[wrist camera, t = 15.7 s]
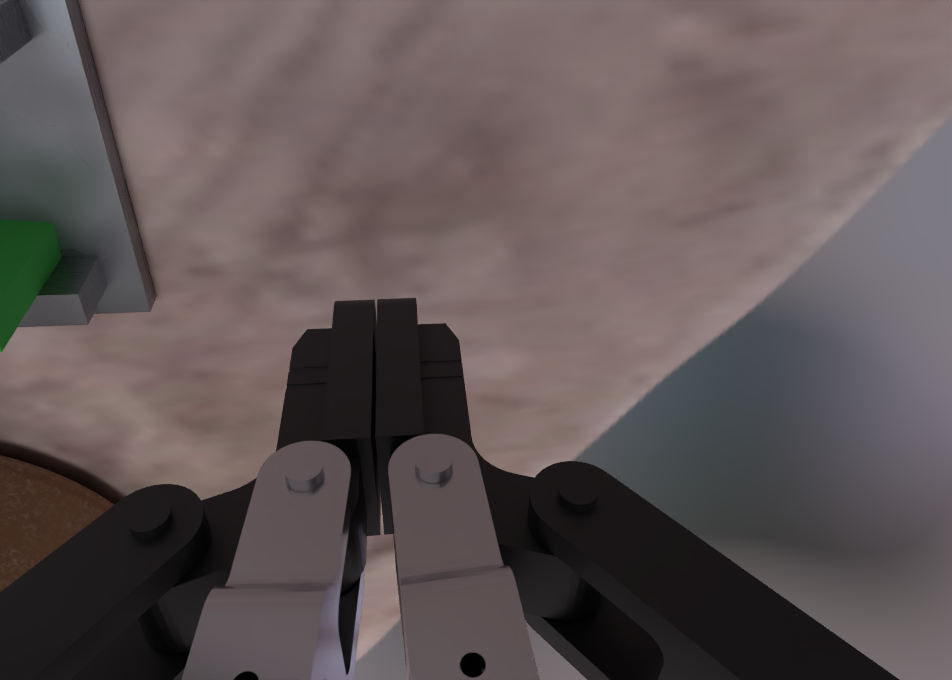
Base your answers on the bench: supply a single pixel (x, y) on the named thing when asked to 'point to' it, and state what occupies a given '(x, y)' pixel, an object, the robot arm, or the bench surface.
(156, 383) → the bench surface
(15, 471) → the planter
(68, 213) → the steel channel
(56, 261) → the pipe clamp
